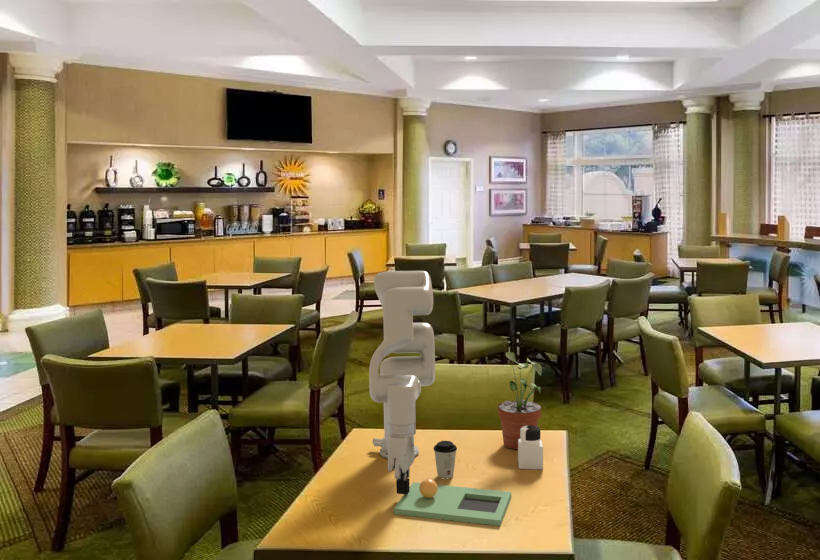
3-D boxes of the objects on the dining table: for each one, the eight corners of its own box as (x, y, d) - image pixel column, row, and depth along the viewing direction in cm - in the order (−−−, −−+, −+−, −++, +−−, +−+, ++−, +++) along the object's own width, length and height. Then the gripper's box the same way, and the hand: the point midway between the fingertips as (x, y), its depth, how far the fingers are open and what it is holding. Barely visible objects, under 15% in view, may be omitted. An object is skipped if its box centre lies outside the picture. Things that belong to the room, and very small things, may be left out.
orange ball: (417, 500, 193) (416, 482, 193) (422, 492, 198) (421, 475, 197) (435, 502, 192) (435, 484, 191) (439, 494, 197) (439, 476, 196)
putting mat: (393, 513, 188) (393, 508, 188) (413, 487, 206) (413, 482, 205) (500, 526, 180) (500, 520, 180) (511, 497, 198) (511, 492, 197)
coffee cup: (455, 481, 209) (455, 448, 208) (431, 480, 210) (431, 447, 209) (458, 472, 216) (458, 440, 215) (435, 471, 217) (435, 439, 216)
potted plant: (534, 456, 228) (534, 347, 224) (490, 448, 236) (490, 343, 232) (552, 442, 241) (552, 338, 237) (509, 434, 249) (509, 335, 245)
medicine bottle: (541, 461, 224) (541, 423, 223) (543, 469, 217) (543, 431, 216) (517, 460, 225) (518, 423, 223) (519, 469, 218) (519, 430, 216)
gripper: (397, 418, 203) (398, 481, 205) (379, 435, 189) (381, 502, 191) (422, 420, 201) (423, 483, 203) (406, 437, 187) (408, 505, 189)
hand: (403, 492), depth 197 cm, fingers closed
